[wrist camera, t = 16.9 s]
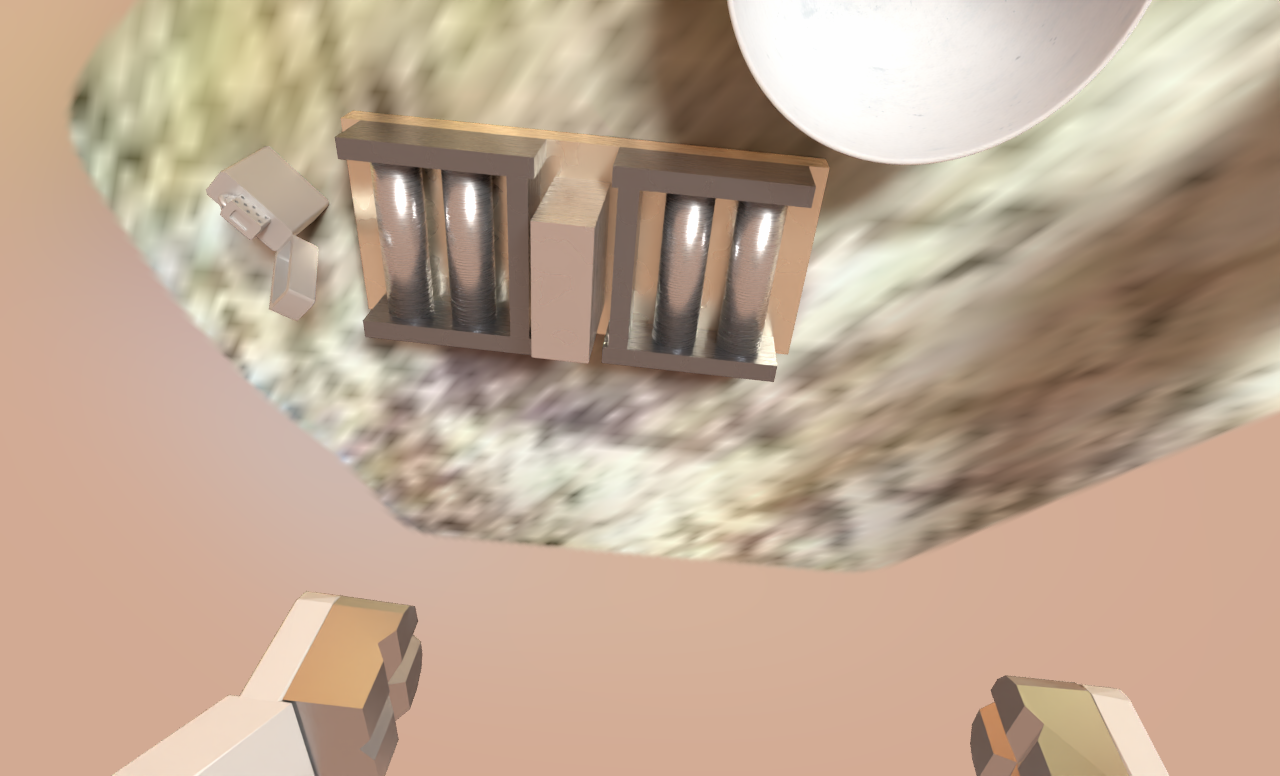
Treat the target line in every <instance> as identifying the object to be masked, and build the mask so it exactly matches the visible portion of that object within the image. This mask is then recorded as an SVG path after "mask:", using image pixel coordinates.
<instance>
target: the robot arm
mask: <svg viewBox="0 0 1280 776" xmlns="http://www.w3.org/2000/svg"><path fill="white" fill-rule="evenodd" d="M417 622H418V619H417V614H416V609H415V606H410V605H403V604H396V603H389V602H381V601H375V600H367V599H361V598H354V597H347V596H341V595H333V594H325V593H317V592H309V591H306V592H305V593H304V594H303V595H302V596H301V597H299V598H298V599H297V600H296V601H295V603H294V604H293V606H292V608H291V609H290V611H289V613H288V614H287V616H286V618H285V620H284V622H283V623H282V625H281V626H280V628H279V630H278V631H277V633H276V635H275V636H274V638H273V640H272V641H271V643H270V645H269V647H268V648H267V650H266V652H265V653H264V655H263V657H262V658H261V660H260V662H259V663H258V665H257V667H256V668H255V670H254V672H253V674H252V675H251V677H250V679H249V681H248V682H247V684H246V685H245V687H244V689H243V690H242V692H241V694H240V695H239V696H235V695H234V696H233V695H227V696H226V697H225V698H223V699H222V700H220V701H219V702H217V703H216V704H214V705H213V706H211V707H210V708H209V709H207V710H206V711H204V712H203V713H201V714H200V715H198V716H197V717H196V718H194V719H193V720H191V721H190V722H188V723H187V724H186V725H184V726H182V727H181V728H180V729H178V730H177V731H175V732H174V733H172V734H171V735H169V736H168V737H166V738H165V739H164V740H162V741H161V742H159V743H158V744H156V745H155V746H154V747H152V748H151V749H149V750H148V751H146V752H145V753H143V754H142V755H140V756H139V757H138V758H136V759H135V760H133V761H132V762H130V763H129V764H128V765H126V766H125V767H123V768H122V769H120V770H119V771H117V772H116V773H114V774H113V775H111V776H385V774H386V771H387V769H388V766H389V763H390V761H391V758H392V755H393V753H394V750H395V748H396V745H397V742H398V734H397V728H396V723H395V721H396V720H397V719H398V718H399V717H401V716H402V715H403V714H404V713H405V712H407V711H408V710H409V709H410V707H411V704H412V701H413V699H414V696H415V693H416V690H417V686H418V681H419V676H420V672H421V666H422V649H421V642H420V641H419V640H418V639H417V638H416V637H415V636H414V635H413V633H414V630H415V628H416V625H417ZM991 692H992V696H993V698H994V701H995V702H994V703H991V704H989V705H987V706H985V707H983V708H981V709H980V710H979V712H978V714H977V715H976V718H975V720H974V722H973V724H972V731H971V742H970V745H971V753H972V760H973V764H974V767H975V771H976V775H977V776H1169V774H1168V772H1167V771H1166V769H1165V766H1164V765H1163V763H1162V761H1161V759H1160V757H1159V755H1158V753H1157V751H1156V749H1155V747H1154V746H1153V744H1152V742H1151V740H1150V738H1149V736H1148V734H1147V732H1146V730H1145V728H1144V726H1143V725H1142V722H1141V721H1140V719H1139V717H1138V715H1137V713H1136V711H1135V709H1134V707H1133V705H1132V703H1131V701H1130V700H1129V698H1128V697H1127V696H1126V695H1125V694H1124V693H1123V692H1122V691H1121V690H1120V689H1115V688H1110V687H1100V686H1090V685H1079V684H1076V683H1074V682H1063V681H1054V680H1045V679H1035V678H1026V677H1016V676H1003V677H1001V678H999V679H997V681H996V682H995V684H994V686H993V687H992V689H991Z"/></svg>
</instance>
